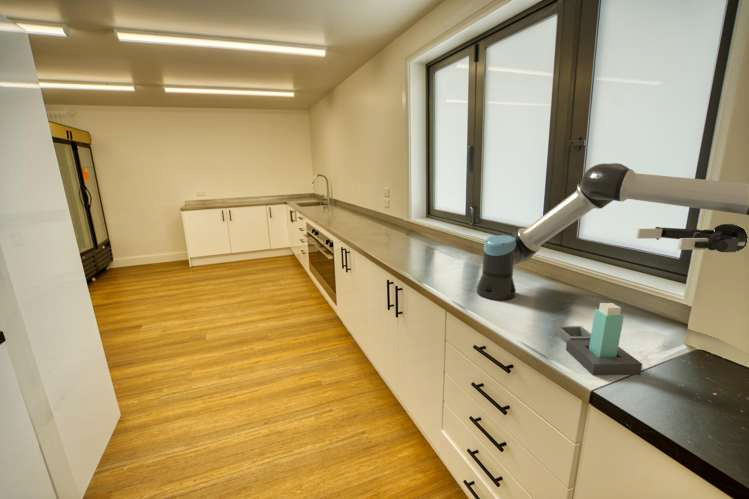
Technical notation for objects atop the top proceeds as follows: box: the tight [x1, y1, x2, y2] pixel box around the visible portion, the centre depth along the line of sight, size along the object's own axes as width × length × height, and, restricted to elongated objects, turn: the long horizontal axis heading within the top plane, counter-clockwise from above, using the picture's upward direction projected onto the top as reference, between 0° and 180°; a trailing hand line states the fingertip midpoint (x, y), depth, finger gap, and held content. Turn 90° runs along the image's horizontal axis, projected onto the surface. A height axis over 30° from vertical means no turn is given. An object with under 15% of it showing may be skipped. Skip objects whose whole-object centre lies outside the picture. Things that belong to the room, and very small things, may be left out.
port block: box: [565, 340, 643, 376], centre depth 91 cm, size 12×12×3 cm
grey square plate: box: [555, 325, 591, 345], centre depth 102 cm, size 8×8×2 cm
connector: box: [589, 302, 625, 358], centre depth 89 cm, size 4×4×16 cm
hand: (657, 238), depth 90 cm, fingers open, 13 cm apart
